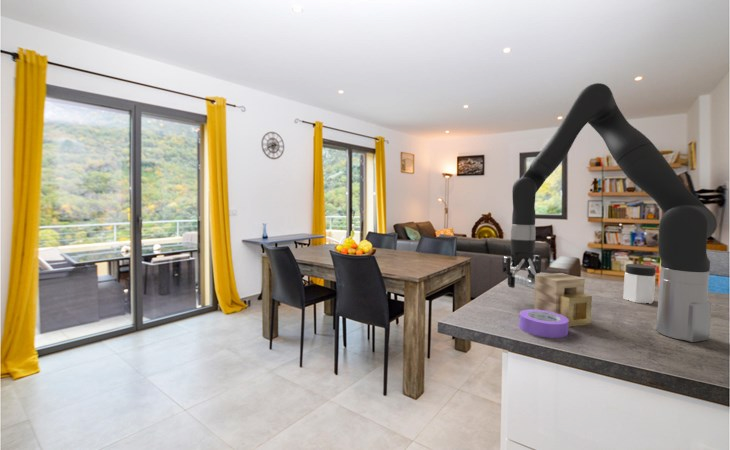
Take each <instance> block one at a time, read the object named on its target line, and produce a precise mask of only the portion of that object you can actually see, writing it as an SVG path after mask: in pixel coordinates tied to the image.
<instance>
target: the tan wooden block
mask: <svg viewBox="0 0 730 450" xmlns="http://www.w3.org/2000/svg"><path fill="white" fill-rule="evenodd" d="M564 288H565V289H566V295H568V294H579V293H584V294H585V278H584V277H579V276H576V275H571V274H567V273H563V272H558V273H546V274H543V273H541V274H536V275H535V289H534V296H533V297H534V299H533V310H544V311H550V312H554V313H557V314H559V309H560V295H564ZM574 315H577V304H574V309H573V316H574Z"/></svg>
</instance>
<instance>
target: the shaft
mask: <svg viewBox="0 0 730 450" xmlns="http://www.w3.org/2000/svg"><path fill="white" fill-rule="evenodd" d="M514 277H515V284H518V285H521V286H524V287H526V288H529V289H532V290H535V279H531V278H528V276H524V275H522V274H517V273H516V274H515V276H514ZM564 295H566V289H565V288H564Z"/></svg>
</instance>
